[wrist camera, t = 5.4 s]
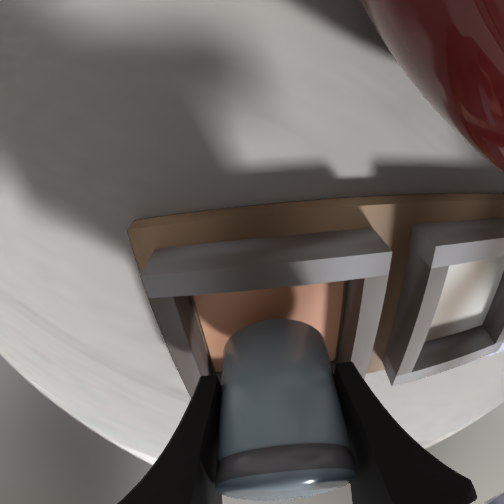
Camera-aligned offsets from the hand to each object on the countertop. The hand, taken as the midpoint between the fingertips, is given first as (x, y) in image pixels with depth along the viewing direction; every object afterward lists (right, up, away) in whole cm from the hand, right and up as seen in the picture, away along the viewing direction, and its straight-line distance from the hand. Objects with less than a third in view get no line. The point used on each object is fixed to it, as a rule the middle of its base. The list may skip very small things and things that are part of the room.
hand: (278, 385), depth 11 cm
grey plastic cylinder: (0, +1, +2) cm, 2 cm away
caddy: (+5, +3, +4) cm, 7 cm away
